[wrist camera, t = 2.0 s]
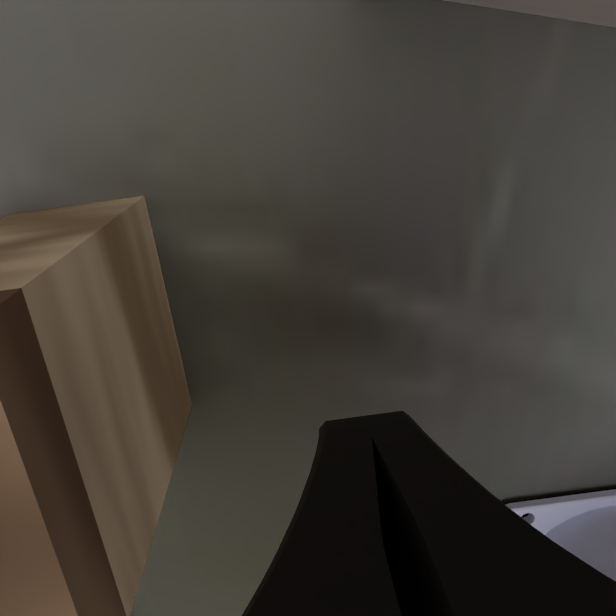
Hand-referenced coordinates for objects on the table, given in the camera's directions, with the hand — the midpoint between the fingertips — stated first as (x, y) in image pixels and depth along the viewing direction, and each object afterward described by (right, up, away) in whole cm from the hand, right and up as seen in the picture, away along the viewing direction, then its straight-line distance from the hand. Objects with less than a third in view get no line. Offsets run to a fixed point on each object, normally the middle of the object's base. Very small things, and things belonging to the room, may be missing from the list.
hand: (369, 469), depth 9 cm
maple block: (-7, +2, +9) cm, 12 cm away
